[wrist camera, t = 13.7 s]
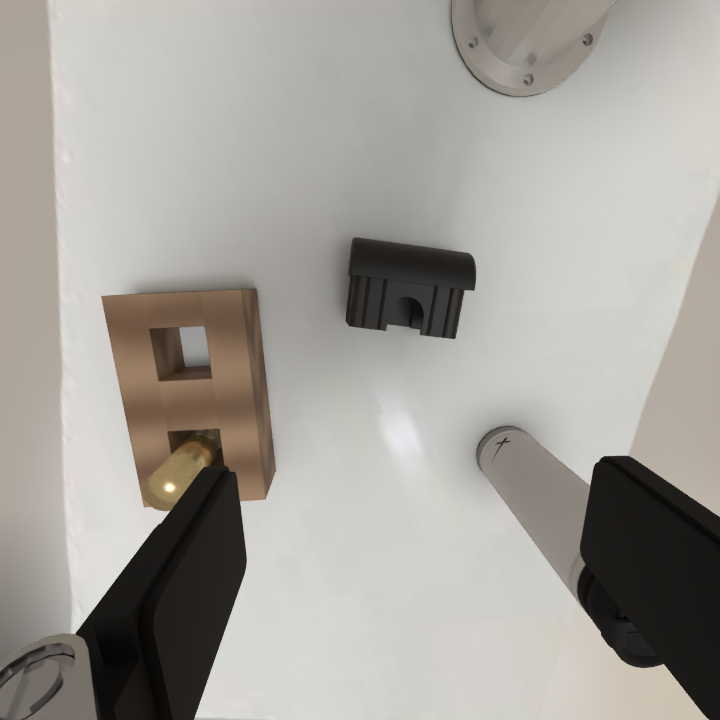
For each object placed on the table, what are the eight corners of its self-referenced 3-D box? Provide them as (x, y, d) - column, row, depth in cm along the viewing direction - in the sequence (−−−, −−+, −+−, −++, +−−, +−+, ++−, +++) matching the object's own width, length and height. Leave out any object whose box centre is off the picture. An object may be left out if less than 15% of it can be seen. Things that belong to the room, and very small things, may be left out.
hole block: (137, 293, 33) (101, 295, 28) (256, 288, 33) (241, 289, 28) (170, 477, 37) (143, 507, 32) (275, 470, 37) (265, 499, 32)
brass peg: (200, 416, 35) (138, 475, 25) (230, 415, 36) (181, 472, 25) (204, 443, 36) (146, 512, 25) (234, 442, 36) (187, 509, 25)
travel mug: (475, 425, 37) (622, 585, 17) (536, 425, 37) (747, 583, 18) (470, 478, 38) (601, 682, 19) (528, 478, 39) (716, 678, 19)
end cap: (455, 256, 33) (483, 250, 27) (442, 330, 35) (465, 341, 28) (351, 242, 33) (353, 231, 26) (342, 318, 34) (342, 326, 27)
